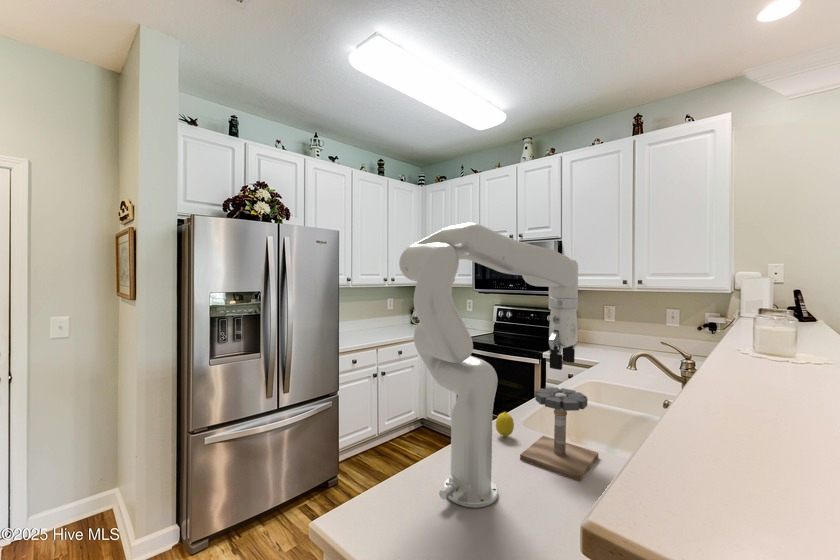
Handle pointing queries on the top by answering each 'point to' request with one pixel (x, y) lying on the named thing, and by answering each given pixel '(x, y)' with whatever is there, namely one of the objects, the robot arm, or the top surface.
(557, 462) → the pipe stand
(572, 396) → the grey flat ring
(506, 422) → the lemon
